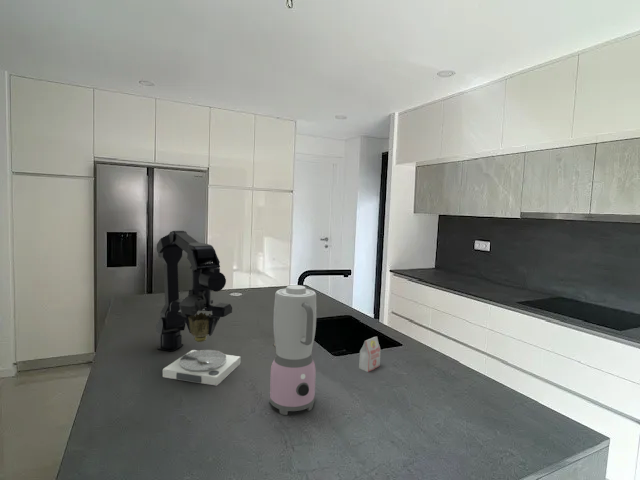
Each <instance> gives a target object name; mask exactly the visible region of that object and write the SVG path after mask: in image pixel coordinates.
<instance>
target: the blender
mask: <svg viewBox="0 0 640 480" xmlns="http://www.w3.org/2000/svg"><path fill="white" fill-rule="evenodd" d="M317 309H318V308H317V293H316V292H315V290H313V289H309V288H307V287H306V286H304V285H299V284H298V285H297V284H294V285H287V286H286V287H285V288H281V289H278V290H276V292H275V294H274V304H273V324H272V325H273V338H274V344H275V346H274V347H275V356H274V359H273V360H272V363H271V366H270V378H269V379H270V380H269V381H270V382H269V384H270V385H269V388H270V389H269V403H270V405H271V406H273V407H274V408H276V409H278V410H279V414H281V415H284V416H288V414H289V412H297V411H298V412H299V411H304V410H306V411H308V412H310V411H312V409H313V407H314V404H315V403H314V402H315V401H316V400H315V399H316V395H315V393H316V392H315V391H316V364H315V360H314V359H313V356H312V353H313V351H312V350H313V346H314V342H315V336H316V330H317V329H316V328H317Z"/></svg>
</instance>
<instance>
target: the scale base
mask: <svg viewBox="0 0 640 480" xmlns="http://www.w3.org/2000/svg"><path fill="white" fill-rule="evenodd" d="M194 351H197V350H196V349H191V350H190V351H188V352H187V353H185V354H184V355H186V354H188V353H191V352H194ZM184 355H181V356H180V357H179V358H178V359H176V360H174V361H172V363H170V364H168V365H167V366H165V367H164V368H163V369H162V378H166V379H172V380H179V381H186V382H191V383H197V384H203V385H211V386H218V385H219V384H220V383H222V382H223V380H225V379H226V378H227V377H228V376H229V375H230V374H232V372H233V371H235V369H237V368H238V367H240V365H241V359H242V358H241V357H242V356H241V355H240V356H239V355H232V354H225V355H226V362H225V363H224V364H223V365H222V366H220V367H218V368H215V369H212V370H206V371H191V370H187V369H184V368H182V367H181V366H180V359H181V358H182V357H183V356H184Z"/></svg>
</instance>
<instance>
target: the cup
mask: <svg viewBox="0 0 640 480" xmlns="http://www.w3.org/2000/svg"><path fill="white" fill-rule="evenodd" d="M209 315H211V313H209V314H208V315H207V313H206V312H202V311H200V312H199V313H198V312H197V313H196V314H195V315H192V316H191V315H190V317H188V319H189V327H190V332H191V333H190V332H189V333H190V334H191V335H192V336H193V337H194V341H195V342H197V343H202V342H205V341H206V340H207V339H208V336H209V319H208V317H207V316H209Z"/></svg>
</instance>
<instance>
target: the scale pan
mask: <svg viewBox="0 0 640 480" xmlns="http://www.w3.org/2000/svg"><path fill="white" fill-rule="evenodd" d="M187 353H188V352H187ZM187 353H185V354H186V355H185V354H184V355H182V356H183V357H182V356H181V357H182V358H181V357H180V358H181V359H180V366H181V367H182V368H184V369H187V370H191V371H206V370H212V369H215V368H218V367H220V366H222V365H223V364H224V363H225V362H226V355H227V354H226V353H224V352H222V351H220V350H215V349H200V350H196V351H194V352H191V353H188V354H187Z"/></svg>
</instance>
